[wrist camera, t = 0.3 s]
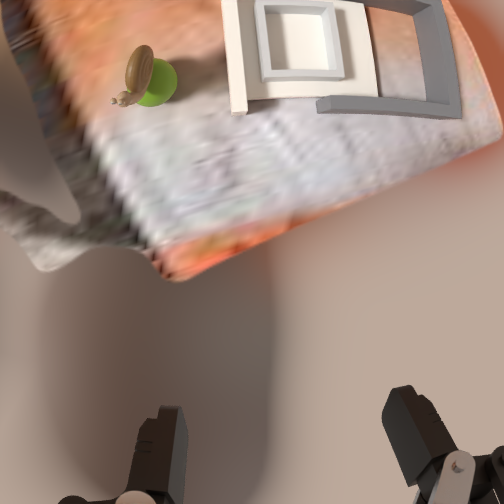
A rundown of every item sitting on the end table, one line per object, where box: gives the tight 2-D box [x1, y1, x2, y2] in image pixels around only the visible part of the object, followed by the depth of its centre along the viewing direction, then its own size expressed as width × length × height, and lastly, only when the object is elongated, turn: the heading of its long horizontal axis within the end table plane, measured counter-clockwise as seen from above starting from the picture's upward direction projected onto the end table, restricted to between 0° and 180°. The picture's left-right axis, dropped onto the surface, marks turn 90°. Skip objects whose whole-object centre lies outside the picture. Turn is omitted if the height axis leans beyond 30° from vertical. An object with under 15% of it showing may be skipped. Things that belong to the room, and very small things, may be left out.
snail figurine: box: [110, 45, 177, 107], centre depth 25 cm, size 5×6×12 cm
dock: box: [316, 0, 462, 120], centre depth 29 cm, size 17×18×5 cm
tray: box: [221, 0, 378, 116], centre depth 28 cm, size 17×17×4 cm
